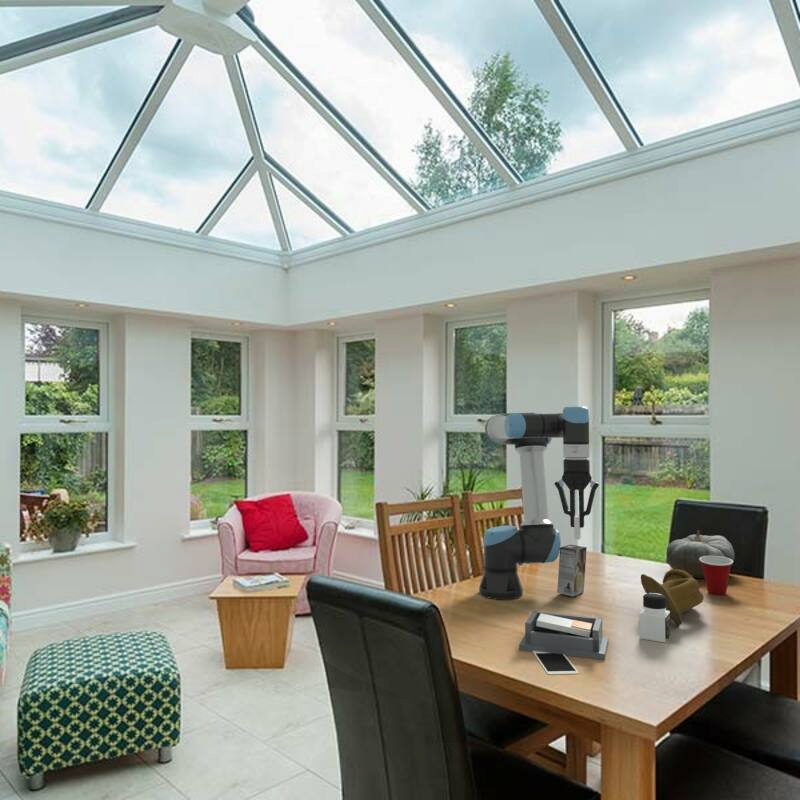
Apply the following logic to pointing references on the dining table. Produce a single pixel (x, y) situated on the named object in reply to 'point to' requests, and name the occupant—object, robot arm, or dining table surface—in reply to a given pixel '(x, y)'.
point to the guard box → (565, 638)
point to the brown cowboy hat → (675, 592)
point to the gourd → (697, 552)
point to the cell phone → (555, 663)
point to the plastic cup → (716, 573)
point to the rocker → (564, 625)
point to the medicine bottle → (654, 618)
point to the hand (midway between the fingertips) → (577, 538)
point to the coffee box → (571, 570)
